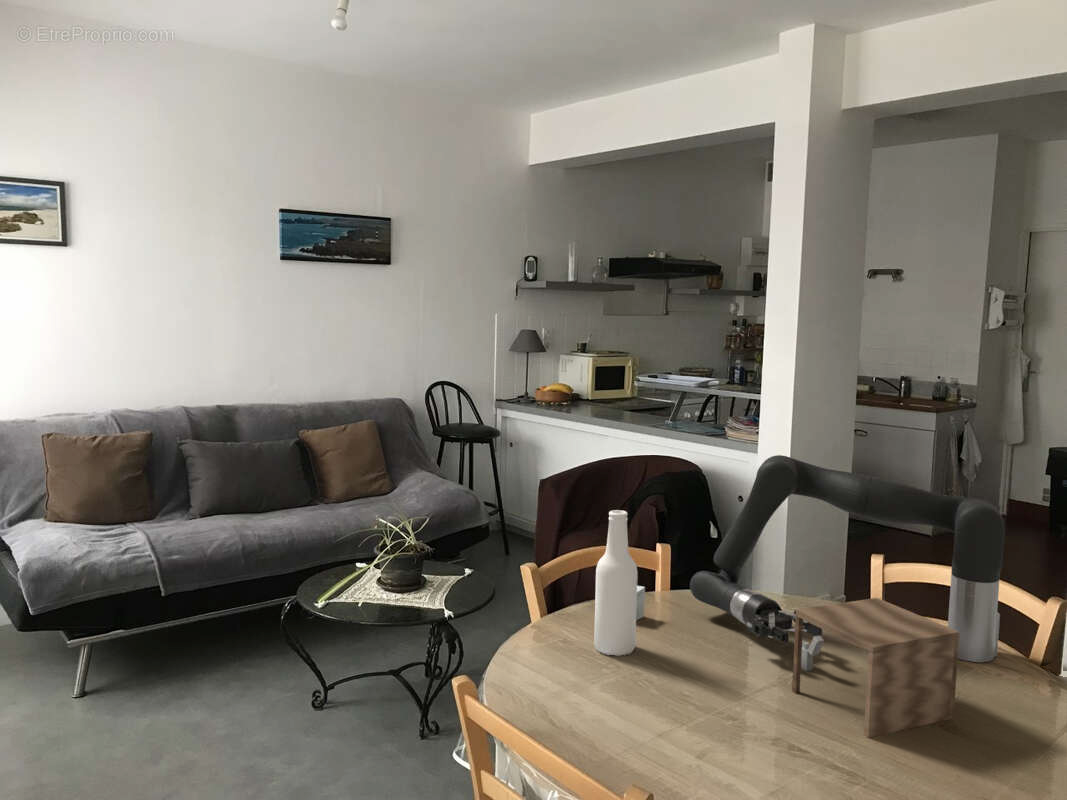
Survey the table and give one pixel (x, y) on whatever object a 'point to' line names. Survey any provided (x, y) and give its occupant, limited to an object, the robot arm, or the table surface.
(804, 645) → the lighter
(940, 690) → the open side box
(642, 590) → the product box
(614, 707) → the table surface
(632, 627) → the alcohol
